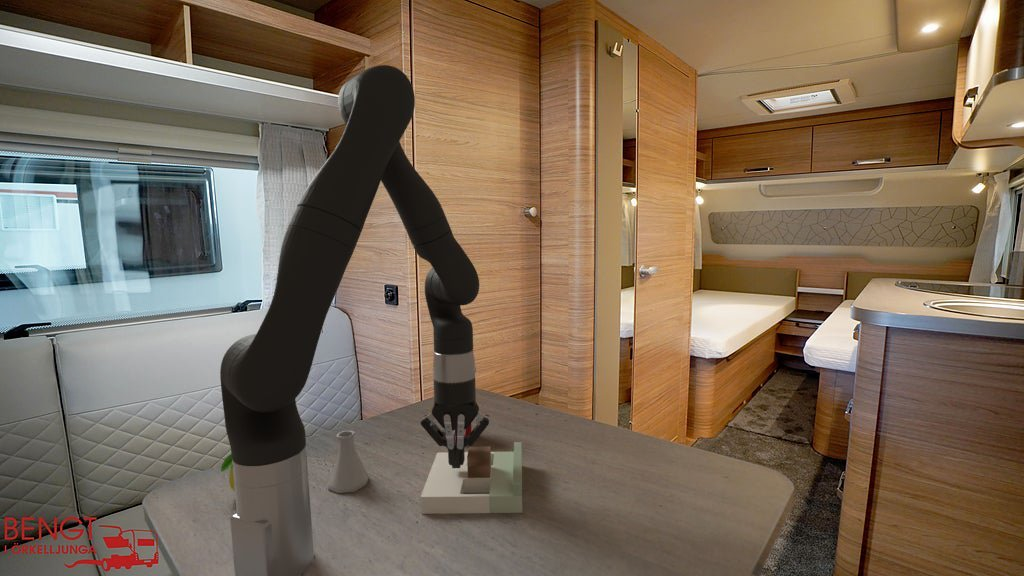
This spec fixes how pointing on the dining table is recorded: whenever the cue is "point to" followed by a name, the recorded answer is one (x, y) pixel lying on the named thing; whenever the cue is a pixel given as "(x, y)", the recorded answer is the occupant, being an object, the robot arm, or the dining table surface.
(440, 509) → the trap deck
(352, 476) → the flask
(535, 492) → the dining table surface
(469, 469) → the walnut block
